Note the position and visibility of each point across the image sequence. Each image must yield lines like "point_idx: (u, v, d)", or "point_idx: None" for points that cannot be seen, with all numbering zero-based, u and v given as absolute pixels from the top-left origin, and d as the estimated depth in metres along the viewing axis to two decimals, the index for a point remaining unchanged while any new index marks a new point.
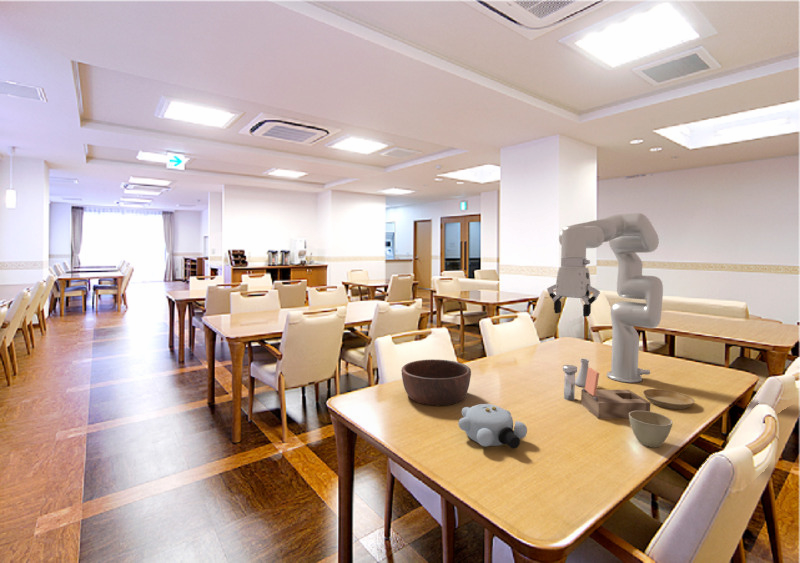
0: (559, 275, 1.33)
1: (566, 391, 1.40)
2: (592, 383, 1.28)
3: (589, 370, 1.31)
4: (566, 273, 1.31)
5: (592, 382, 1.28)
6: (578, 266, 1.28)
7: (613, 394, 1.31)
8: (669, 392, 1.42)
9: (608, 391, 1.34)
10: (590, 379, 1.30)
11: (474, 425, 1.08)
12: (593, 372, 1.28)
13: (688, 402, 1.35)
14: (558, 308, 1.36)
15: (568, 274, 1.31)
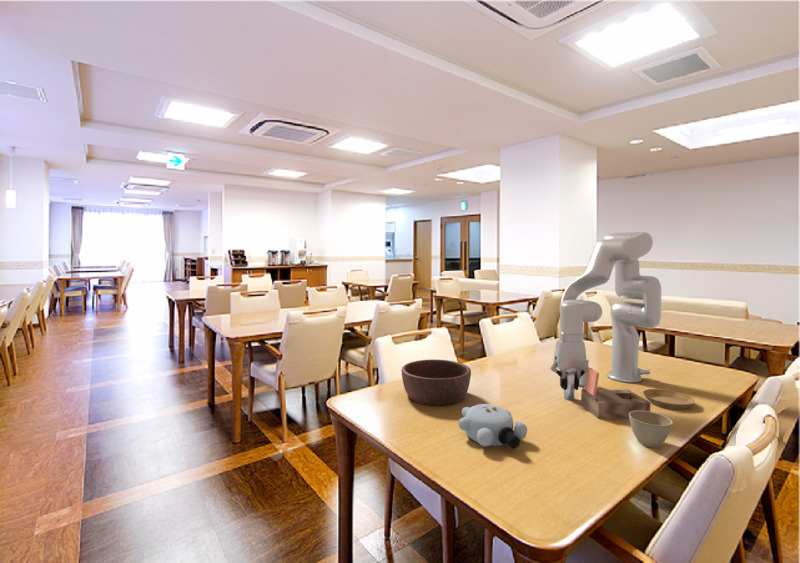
0: (563, 350, 1.38)
1: (566, 391, 1.40)
2: (592, 383, 1.28)
3: (589, 370, 1.31)
4: (570, 348, 1.37)
5: (592, 382, 1.28)
6: (581, 341, 1.37)
7: (613, 394, 1.31)
8: (669, 392, 1.42)
9: (608, 391, 1.34)
10: (590, 379, 1.30)
11: (474, 425, 1.08)
12: (593, 372, 1.28)
13: (688, 402, 1.35)
14: None
15: (573, 349, 1.37)
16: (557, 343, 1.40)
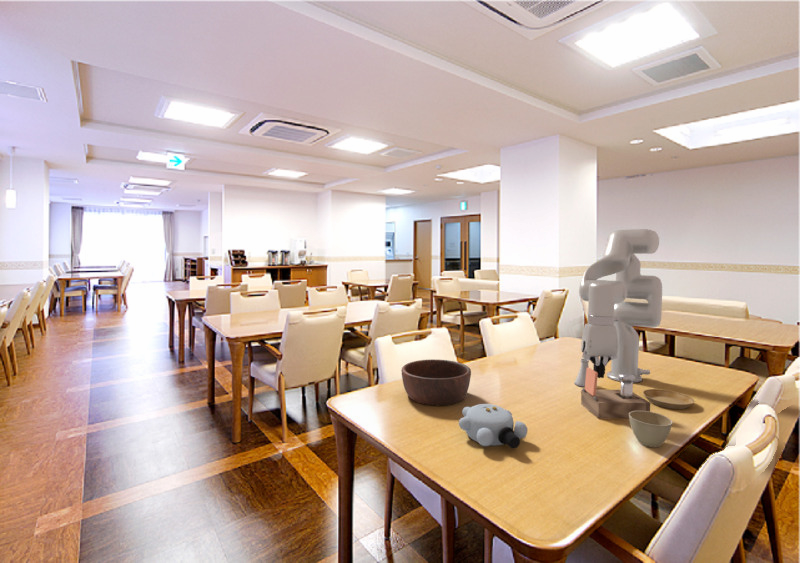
0: (592, 334, 1.26)
1: None
2: (591, 383, 1.28)
3: (588, 370, 1.31)
4: (601, 332, 1.26)
5: (592, 382, 1.28)
6: (613, 324, 1.26)
7: (613, 394, 1.31)
8: (669, 392, 1.42)
9: (608, 391, 1.34)
10: (589, 379, 1.30)
11: (474, 425, 1.09)
12: (592, 372, 1.28)
13: (688, 402, 1.35)
14: None
15: (603, 333, 1.26)
16: (586, 327, 1.28)
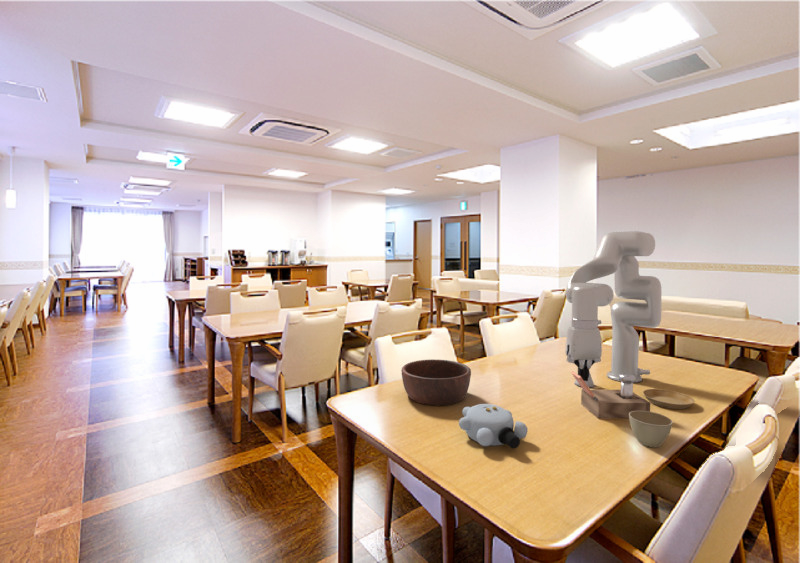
0: (576, 338, 1.26)
1: None
2: (583, 386, 1.28)
3: (573, 375, 1.31)
4: (584, 336, 1.26)
5: (583, 386, 1.28)
6: (596, 328, 1.26)
7: (613, 394, 1.31)
8: (669, 392, 1.42)
9: (608, 391, 1.34)
10: (580, 382, 1.30)
11: (474, 425, 1.09)
12: (577, 377, 1.28)
13: (688, 402, 1.35)
14: None
15: (587, 336, 1.26)
16: (569, 330, 1.28)
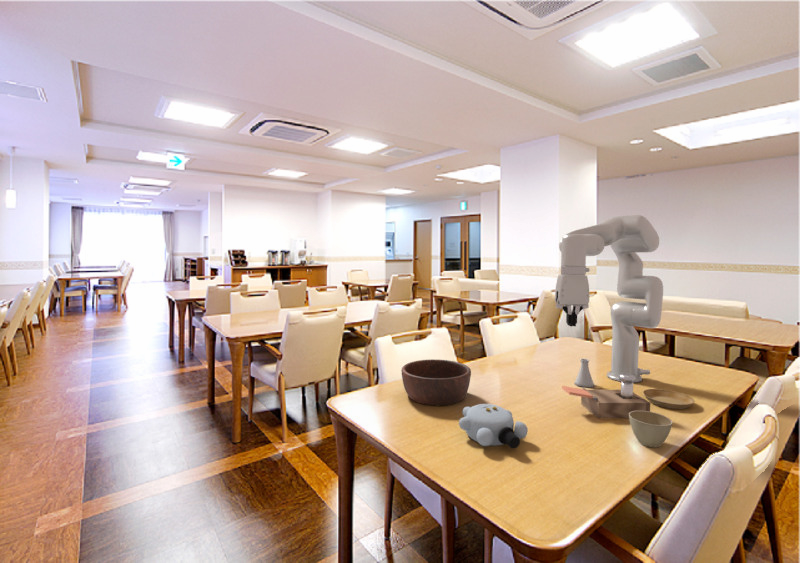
0: (564, 284, 1.31)
1: None
2: None
3: None
4: (572, 281, 1.31)
5: None
6: (584, 274, 1.31)
7: (613, 394, 1.31)
8: (670, 392, 1.42)
9: (608, 391, 1.34)
10: None
11: (474, 425, 1.09)
12: None
13: (688, 402, 1.35)
14: None
15: (575, 282, 1.31)
16: (558, 277, 1.33)
